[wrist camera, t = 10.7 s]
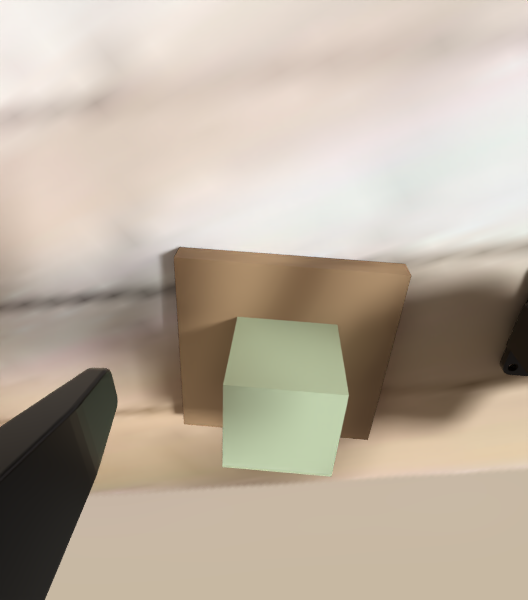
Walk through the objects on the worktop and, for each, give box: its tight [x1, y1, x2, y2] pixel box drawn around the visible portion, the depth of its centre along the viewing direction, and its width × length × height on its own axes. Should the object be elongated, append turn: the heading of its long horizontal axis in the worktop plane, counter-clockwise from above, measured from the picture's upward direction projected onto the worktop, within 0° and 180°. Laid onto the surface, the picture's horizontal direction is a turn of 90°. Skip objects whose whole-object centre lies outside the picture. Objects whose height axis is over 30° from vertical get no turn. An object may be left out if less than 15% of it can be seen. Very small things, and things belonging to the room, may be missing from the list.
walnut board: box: [174, 247, 411, 440], centre depth 23 cm, size 11×11×1 cm
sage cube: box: [222, 317, 349, 477], centre depth 20 cm, size 5×5×5 cm
